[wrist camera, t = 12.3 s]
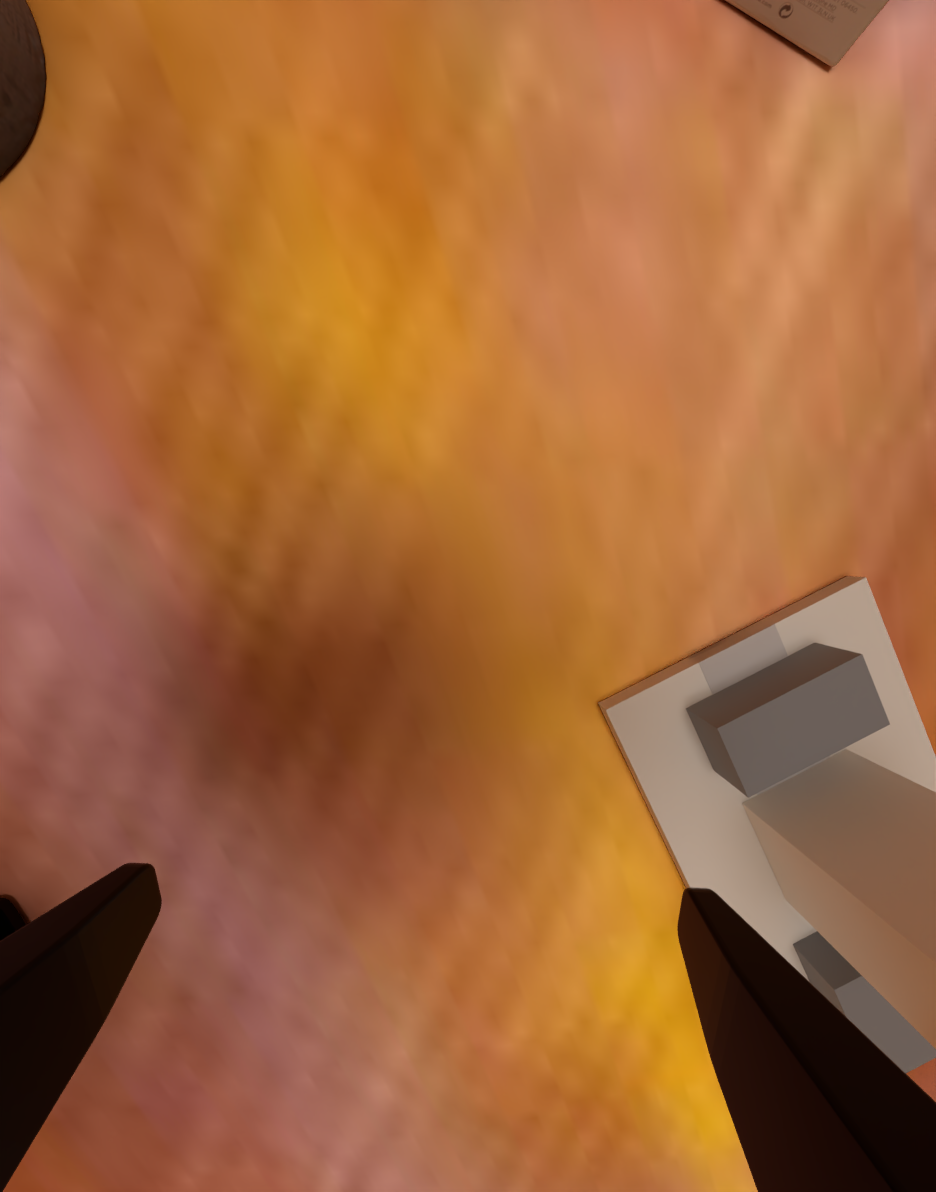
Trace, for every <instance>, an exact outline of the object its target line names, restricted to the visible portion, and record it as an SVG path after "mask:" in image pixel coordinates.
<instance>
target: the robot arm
mask: <svg viewBox="0 0 936 1192" xmlns="http://www.w3.org/2000/svg"><path fill="white" fill-rule="evenodd" d="M161 901H162V900H161V894H160V890H159V885H158V881H157V877H156V872H155V869H154V867H153V866H152V865H151V864H148V863H127V864H124V865H122V866H121V867H119V868H117V869H116V870H114V871H112V872H111V873H109V874H108V875H106V876H104V877H103V878H101V879H100V880H98V881H96V882H95V883H93V884H92V885H90V886H88V887H87V888H85V889H83V890H82V891H80V892H79V893H77V894H75V895H74V896H72V897H71V898H69V899H67V900H66V901H64V902H62V903H61V904H59V905H58V906H56V907H54V908H53V909H51V910H50V911H48V912H46V913H45V914H43V915H41V916H40V917H38V918H37V919H35V920H33V921H32V922H30V923H29V924H27V925H26V923H25V922H24V921H23V919H22V918H21V916H20V915H19V913H18V912H17V910H16V909H15V907H14V906H13V904H12V903H11V902H10V901H9V900H7V899H5V898H0V1192H3V1190H4V1188H5V1187H6V1185H7V1183H8V1182H9V1180H10V1178H11V1177H12V1175H13V1173H14V1172H15V1170H16V1168H17V1167H18V1165H19V1164H20V1162H21V1160H22V1159H23V1157H24V1155H25V1154H26V1152H27V1150H28V1149H29V1147H30V1145H31V1144H32V1142H33V1140H34V1139H35V1137H36V1135H37V1134H38V1132H39V1130H40V1129H41V1127H42V1125H43V1124H44V1122H45V1120H46V1119H47V1117H48V1115H49V1114H50V1112H51V1110H52V1109H53V1107H54V1105H55V1104H56V1102H57V1100H58V1099H59V1097H60V1095H61V1094H62V1092H63V1090H64V1089H65V1087H66V1085H67V1084H68V1082H69V1080H70V1079H71V1077H72V1076H73V1074H74V1072H75V1071H76V1069H77V1067H78V1066H79V1064H80V1062H81V1061H82V1059H83V1057H84V1056H85V1054H86V1052H87V1051H88V1049H89V1047H90V1046H91V1044H92V1042H93V1041H94V1039H95V1037H96V1035H97V1034H98V1032H99V1030H100V1028H101V1027H102V1025H103V1023H104V1022H105V1020H106V1018H107V1016H108V1014H109V1012H110V1010H111V1009H112V1007H113V1005H114V1003H115V1001H116V999H117V997H118V995H119V993H120V991H121V989H122V987H123V985H124V983H125V981H126V979H127V977H128V975H129V973H130V971H131V969H132V967H133V965H134V963H135V961H136V959H137V957H138V955H139V953H140V951H141V949H142V947H143V945H144V943H145V941H146V939H147V937H148V935H149V933H150V931H151V929H152V928H153V926H154V924H155V922H156V920H157V917H158V915H159V912H160V909H161ZM678 938H679V942H680V946H681V950H682V954H683V958H684V961H685V965H686V969H687V973H688V976H689V980H690V984H691V988H692V992H693V995H694V999H695V1003H696V1007H697V1010H698V1014H699V1018H700V1022H701V1025H702V1029H703V1033H704V1037H705V1040H706V1044H707V1047H708V1051H709V1054H710V1058H711V1061H712V1064H713V1067H714V1070H715V1073H716V1076H717V1079H718V1081H719V1084H720V1087H721V1090H722V1093H723V1095H724V1098H725V1101H726V1104H727V1107H728V1109H729V1112H730V1115H731V1118H732V1120H733V1123H734V1126H735V1129H736V1132H737V1134H738V1137H739V1140H740V1143H741V1146H742V1148H743V1151H744V1154H745V1157H746V1159H747V1162H748V1165H749V1168H750V1171H751V1173H752V1176H753V1179H754V1182H755V1185H756V1187H757V1190H758V1192H936V1102H935V1101H934V1100H933V1099H932V1098H931V1097H930V1096H929V1095H928V1094H927V1093H926V1092H924V1091H923V1090H922V1089H921V1088H920V1087H919V1086H918V1085H917V1084H916V1083H915V1082H914V1081H913V1080H912V1079H911V1078H910V1077H909V1076H908V1075H907V1074H906V1073H905V1072H903V1071H902V1070H901V1069H900V1068H899V1067H898V1066H897V1065H896V1064H895V1063H894V1062H893V1061H892V1060H891V1059H890V1058H889V1057H888V1056H887V1055H886V1054H885V1053H884V1052H882V1051H881V1050H880V1049H879V1048H878V1047H877V1046H876V1045H875V1044H874V1043H873V1042H872V1041H871V1040H870V1039H869V1038H868V1037H867V1036H866V1035H865V1034H864V1033H863V1032H861V1031H860V1030H859V1029H858V1028H857V1027H856V1026H855V1025H854V1024H853V1023H852V1022H851V1021H850V1020H849V1019H848V1018H847V1017H846V1016H845V1015H844V1014H843V1013H842V1012H841V1011H839V1010H838V1009H837V1008H836V1007H835V1006H834V1005H833V1004H832V1003H831V1002H830V1001H829V1000H828V999H827V998H826V997H825V996H824V995H823V994H822V993H821V992H820V991H818V990H817V989H816V988H815V987H814V986H813V985H812V984H811V983H810V982H809V981H808V980H807V979H806V978H805V977H804V976H803V975H802V974H801V973H800V972H799V971H797V970H796V969H795V968H794V967H793V966H792V965H791V964H790V963H789V962H788V961H787V960H786V959H785V958H784V957H783V956H782V955H781V954H780V953H779V952H778V951H776V950H775V949H774V948H773V947H772V946H771V945H770V944H769V943H768V942H767V941H766V940H765V939H764V938H763V937H762V936H761V935H760V934H759V933H758V932H757V931H756V930H754V929H753V928H752V927H751V926H750V925H749V924H748V923H747V922H746V921H745V920H744V919H743V918H742V917H741V916H740V915H739V914H738V913H737V912H736V911H735V910H733V909H732V908H731V907H730V906H729V905H728V904H727V903H726V902H725V901H724V900H723V899H722V898H721V897H720V896H719V895H718V894H717V893H715V892H714V891H713V890H711V889H708V888H692V887H689V888H686V889H685V890H684V892H683V896H682V902H681V908H680V914H679V920H678Z"/></svg>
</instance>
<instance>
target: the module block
mask: <svg viewBox="0 0 936 1192" xmlns="http://www.w3.org/2000/svg"><path fill="white" fill-rule="evenodd" d="M742 804H743V806H744V809H745V811H746V813H747V815H748V817H749V820H750V822H751V824H752V826H753V828H754V831H755V833H756V835H757V837H758V840H759V842H760V844H761V846H762V848H763V851H764V853H765V855H766V857H767V859H768V862H769V864H770V866H771V868H772V870H773V873H774V875H775V877H776V879H777V881H778V884H779V886H780V888H781V890H782V892H783V895H784V897H785V899H786V901H787V902H788V903H789V904H790V905H791V906H792V907H793V908H794V909H795V910H796V911H797V912H798V913H799V914H800V915H801V916H803V917H804V918H805V919H806V920H807V921H808V922H809V923H810V924H811V925H812V926H813V927H814V928H815V929H816V930H817V931H818V932H819V933H820V934H821V935H822V936H823V937H824V938H825V939H826V940H827V941H828V942H829V943H830V944H831V945H832V946H833V947H834V948H835V949H836V950H837V951H838V952H839V953H840V954H841V955H842V956H843V957H844V958H845V959H846V960H847V961H848V962H849V963H850V964H851V965H852V966H853V967H854V968H855V969H856V970H857V971H858V972H859V973H860V974H861V975H862V976H863V977H864V978H865V979H866V980H867V981H868V982H869V983H870V984H871V985H872V986H873V987H874V988H875V989H876V990H877V991H878V992H879V993H880V994H881V995H882V996H883V997H884V998H885V999H886V1000H887V1001H888V1002H889V1003H890V1004H891V1005H892V1006H893V1007H894V1008H895V1009H896V1010H897V1011H898V1012H899V1013H900V1014H901V1015H902V1016H903V1017H904V1018H905V1019H906V1020H907V1021H908V1022H909V1023H910V1024H911V1025H912V1026H913V1027H914V1028H915V1029H916V1030H917V1031H918V1032H919V1033H920V1034H921V1035H922V1036H923V1037H924V1038H925V1039H926V1040H927V1041H928V1042H929V1043H930V1044H931V1045H932V1046H933V1047H934V1048H935V1049H936V792H934V791H932V790H930V789H928V788H926V787H924V786H922V785H919V784H917V783H915V782H913V781H911V780H909V779H907V778H905V777H903V776H901V775H899V774H897V773H895V772H893V771H891V770H888V769H886V768H884V767H882V766H880V765H878V764H876V763H874V762H872V761H870V760H868V759H866V758H864V757H862V756H859V755H857V754H855V753H853V752H851V751H849V750H847V749H846V750H844V751H842V752H840V753H838V754H836V755H834V756H832V757H830V758H828V759H826V760H825V761H823V762H821V763H819V764H817V765H815V766H813V767H811V768H809V769H807V770H805V771H803V772H801V773H800V774H798V775H796V776H794V777H792V778H790V779H788V780H786V781H784V782H782V783H780V784H778V785H777V786H775V787H773V788H771V789H769V790H767V791H765V792H763V793H761V794H759V795H757V796H755V797H753V798H752V799H750V800H748V801H746V802H744V803H742Z"/></svg>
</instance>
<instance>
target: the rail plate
mask: <svg viewBox="0 0 936 1192" xmlns="http://www.w3.org/2000/svg"><path fill="white" fill-rule="evenodd" d="M598 704H599V706H600V708H601V710H602V713H603V715H604V717H605V719H606V721H607V723H608V725H609V727H610V729H611V731H612V733H613V736H614V738H615V740H616V742H617V744H618V746H619V748H620V750H621V752H622V754H623V756H624V759H625V761H626V763H627V765H628V767H629V769H630V771H631V773H632V775H633V777H634V779H635V782H636V784H637V786H638V788H639V790H640V792H641V794H642V796H643V798H644V800H645V803H646V805H647V807H648V809H649V811H650V813H651V815H652V817H653V819H654V821H655V823H656V826H657V828H658V830H659V832H660V834H661V836H662V838H663V840H664V842H665V844H666V846H667V849H668V851H669V853H670V855H671V857H672V859H673V861H674V863H675V865H676V867H677V870H678V872H679V874H680V876H681V878H682V880H683V882H684V884H685V886H686V888H689V887H692V888H708V889H711V890H713V891H714V892H715V893H717V894H718V895H719V896H720V897H721V898H722V899H723V900H724V901H725V902H726V903H727V904H728V905H729V906H730V907H731V908H732V909H733V910H735V911H736V912H737V913H738V914H739V915H740V916H741V917H742V918H743V919H744V920H745V921H746V922H747V923H748V924H749V925H750V926H751V927H752V928H753V929H754V930H756V931H757V932H758V933H759V934H760V935H761V936H762V937H763V938H764V939H765V940H766V941H767V942H768V943H769V944H770V945H771V946H772V947H773V948H774V949H775V950H776V951H778V952H779V953H780V954H781V955H782V956H783V957H784V958H785V959H786V960H787V961H788V962H789V963H790V964H791V965H792V966H793V967H794V968H795V969H796V970H797V971H799V972H800V973H801V974H802V975H803V976H804V977H805V978H806V979H807V980H808V981H809V982H810V983H811V984H812V985H813V986H814V987H815V988H816V989H817V990H818V991H820V992H821V993H822V994H823V995H824V996H825V997H826V998H827V999H828V1000H829V1001H830V1002H831V1003H832V1004H833V1005H834V1006H835V1007H836V1008H837V1009H838V1010H839V1011H841V1012H842V1013H843V1014H844V1015H845V1016H846V1017H847V1018H848V1019H849V1020H850V1021H851V1022H852V1023H853V1024H854V1025H855V1026H856V1027H857V1028H858V1029H859V1030H860V1031H861V1032H863V1033H864V1034H865V1035H866V1036H867V1037H868V1038H869V1039H870V1040H871V1041H872V1042H873V1043H874V1044H875V1045H876V1046H877V1047H878V1048H879V1049H880V1050H881V1051H882V1052H884V1053H885V1054H886V1055H887V1056H888V1057H889V1058H890V1059H891V1060H892V1061H893V1062H894V1063H895V1064H896V1065H897V1066H898V1067H899V1068H900V1069H901V1070H902V1071H903V1072H905V1073H907V1072H909V1071H911V1070H913V1069H915V1068H917V1067H919V1066H921V1065H922V1064H924V1063H926V1062H928V1061H930V1060H932V1059H934V1058H936V1049H935V1048H934V1047H933V1046H932V1045H931V1044H930V1043H929V1042H928V1041H927V1040H926V1039H925V1038H924V1037H923V1036H922V1035H921V1034H920V1033H919V1032H918V1031H917V1030H916V1029H915V1028H914V1027H913V1026H912V1025H911V1024H910V1023H909V1022H908V1021H907V1020H906V1019H905V1018H904V1017H903V1016H902V1015H901V1014H900V1013H899V1012H898V1011H897V1010H896V1009H895V1008H894V1007H893V1006H892V1005H891V1004H890V1003H889V1002H888V1001H887V1000H886V999H885V998H884V997H883V996H882V995H881V994H880V993H879V992H878V991H877V990H876V989H875V988H874V987H873V986H872V985H871V984H870V983H869V982H868V981H867V980H866V979H865V978H864V977H863V976H862V975H861V974H860V973H859V972H858V971H857V970H856V969H855V968H854V967H853V966H852V965H851V964H850V963H849V962H848V961H847V960H846V959H845V958H844V957H843V956H842V955H841V954H840V953H839V952H838V951H837V950H836V949H835V948H834V947H833V946H832V945H831V944H830V943H829V942H828V941H827V940H826V939H825V938H824V937H823V936H822V935H821V934H820V933H819V932H818V931H817V930H816V929H815V928H814V927H813V926H812V925H811V924H810V923H809V922H808V921H807V920H806V919H805V918H804V917H803V916H801V915H800V914H799V913H798V912H797V911H796V910H795V909H794V908H793V907H792V906H791V905H790V904H789V903H788V902H787V901H786V899H785V897H784V895H783V892H782V890H781V888H780V886H779V884H778V881H777V879H776V877H775V875H774V873H773V870H772V868H771V866H770V864H769V862H768V859H767V857H766V855H765V853H764V851H763V848H762V846H761V844H760V842H759V840H758V837H757V835H756V833H755V831H754V828H753V826H752V824H751V822H750V820H749V817H748V815H747V813H746V811H745V809H744V806H743V804H742V803H744V802H746V801H748V800H750V799H752V798H753V797H755V796H757V795H759V794H761V793H763V792H765V791H767V790H769V789H771V788H773V787H775V786H777V785H778V784H780V783H782V782H784V781H786V780H788V779H790V778H792V777H794V776H796V775H798V774H800V773H801V772H803V771H805V770H807V769H809V768H811V767H813V766H815V765H817V764H819V763H821V762H823V761H825V760H826V759H828V758H830V757H832V756H834V755H836V754H838V753H840V752H842V751H844V750H846V749H847V750H849V751H851V752H853V753H855V754H857V755H859V756H862V757H864V758H866V759H868V760H870V761H872V762H874V763H876V764H878V765H880V766H882V767H884V768H886V769H888V770H891V771H893V772H895V773H897V774H899V775H901V776H903V777H905V778H907V779H909V780H911V781H913V782H915V783H917V784H919V785H922V786H924V787H926V788H928V789H930V790H932V791H934V792H936V756H935V754H934V751H933V749H932V746H931V744H930V741H929V738H928V736H927V733H926V731H925V728H924V726H923V723H922V720H921V718H920V715H919V713H918V710H917V707H916V705H915V702H914V700H913V697H912V695H911V692H910V689H909V687H908V684H907V682H906V679H905V677H904V674H903V671H902V669H901V666H900V664H899V661H898V659H897V656H896V653H895V651H894V648H893V646H892V643H891V641H890V638H889V635H888V633H887V630H886V628H885V625H884V623H883V620H882V617H881V615H880V612H879V610H878V607H877V605H876V602H875V599H874V597H873V594H872V592H871V589H870V586H869V584H868V581H867V579H866V577H853V576H846V577H844V578H842V579H840V580H838V581H837V582H835V583H833V584H831V585H829V586H827V587H825V588H823V589H821V590H819V591H817V592H815V593H813V594H811V595H809V596H807V597H805V598H803V599H801V600H799V601H797V602H795V603H793V604H791V605H789V606H787V607H785V608H784V609H782V610H780V611H778V612H776V613H774V614H772V615H770V616H768V617H766V618H764V619H762V620H760V621H758V622H756V623H754V624H752V625H750V626H748V627H746V628H744V629H742V630H740V631H738V632H736V633H734V634H732V635H731V636H729V637H727V638H725V639H723V640H721V641H719V642H717V643H715V644H713V645H711V646H709V647H707V648H705V649H703V650H701V651H699V652H697V653H695V654H693V655H691V656H689V657H687V658H685V659H683V660H681V661H680V662H678V663H676V664H674V665H672V666H670V667H668V668H666V669H664V670H662V671H660V672H658V673H656V674H654V675H652V676H650V677H648V678H646V679H644V680H642V681H640V682H638V683H636V684H634V685H632V686H630V687H628V688H627V689H625V690H623V691H621V692H619V693H617V694H615V695H613V696H611V697H609V698H607V699H605V700H603V701H601V702H599V703H598Z"/></svg>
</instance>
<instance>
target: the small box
mask: <svg viewBox="0 0 936 1192" xmlns="http://www.w3.org/2000/svg"><path fill="white" fill-rule="evenodd" d="M725 1H727V2H728V3H730V4H732V5H733V6H735V7H736V8H738V9H740V10H741V11H743V12H744V13H746V14H748V15H749V16H751V17H752V18H754V19H755V20H757V21H759V22H760V23H762V24H763V25H765V26H767V27H769V28H770V29H772V30H773V31H775V32H776V33H778V34H779V35H781V36H783V37H784V38H786V39H787V40H789V41H791V42H792V43H794V44H795V45H797V46H798V47H800V48H802V49H803V50H805V51H806V52H808V53H810V54H811V55H813V56H814V57H816V58H818V59H819V60H821V61H822V62H824V63H826V64H827V65H829V66H832V67H833V66H835V65H836V64H837V63H838V62H839V61H840V60H841V58H842V57H843V56H844V55H845V53H846V52H847V51H848V50H849V49H850V47H851V46H852V45H853V44H854V42H855V41H856V40H857V39H858V37H859V36H860V35H861V34H862V33H863V31H864V30H865V29H866V28H867V26H868V25H869V24H870V23H871V22H872V20H873V19H874V18H875V17H876V16H877V14H878V13H879V12H880V11H881V10H882V8H883V7H884V6H885V5H886V3H887V2H888V1H889V0H725Z"/></svg>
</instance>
